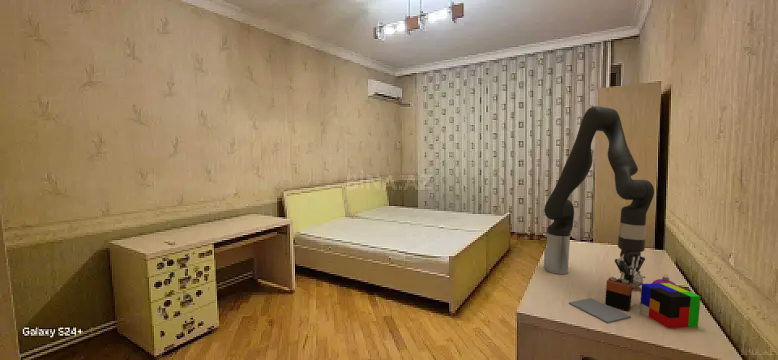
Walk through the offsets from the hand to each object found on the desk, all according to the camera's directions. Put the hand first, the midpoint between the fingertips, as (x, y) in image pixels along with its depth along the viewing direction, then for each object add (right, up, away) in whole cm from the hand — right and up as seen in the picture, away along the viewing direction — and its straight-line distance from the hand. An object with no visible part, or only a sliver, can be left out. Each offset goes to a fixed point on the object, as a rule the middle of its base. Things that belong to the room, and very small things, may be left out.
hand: (628, 283), depth 111 cm
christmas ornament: (+15, -8, +3) cm, 17 cm away
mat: (-13, -8, -4) cm, 16 cm away
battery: (-5, -8, -1) cm, 9 cm away
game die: (+12, -7, +15) cm, 20 cm away
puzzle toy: (+5, -9, -10) cm, 14 cm away
